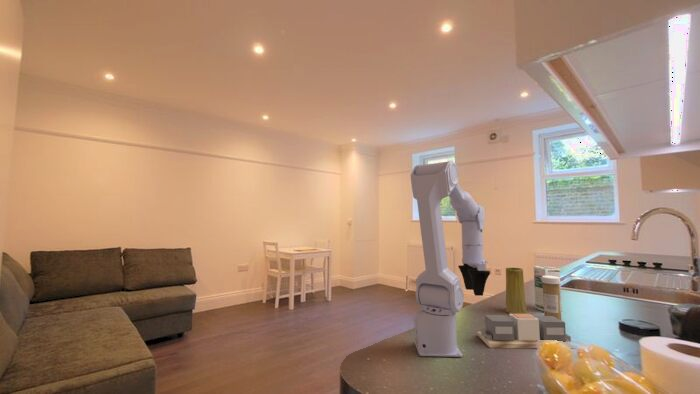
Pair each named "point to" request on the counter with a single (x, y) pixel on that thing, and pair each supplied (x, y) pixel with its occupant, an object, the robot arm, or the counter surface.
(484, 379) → the counter surface
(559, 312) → the sprinkles bottle
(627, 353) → the counter surface
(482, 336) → the board
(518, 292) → the vase
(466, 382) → the counter surface
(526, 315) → the block
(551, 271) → the syrup box
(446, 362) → the counter surface
